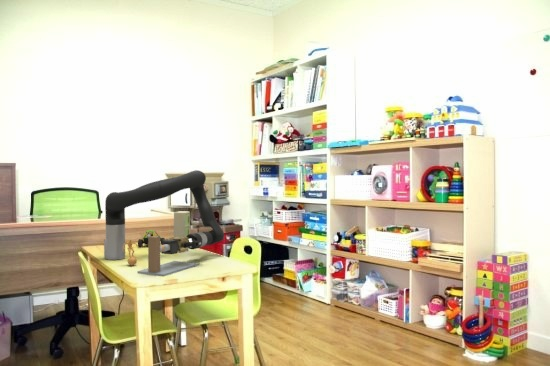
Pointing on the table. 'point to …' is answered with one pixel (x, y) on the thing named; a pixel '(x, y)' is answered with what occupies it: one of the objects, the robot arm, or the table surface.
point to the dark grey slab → (172, 246)
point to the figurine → (132, 260)
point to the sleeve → (181, 243)
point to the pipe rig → (154, 260)
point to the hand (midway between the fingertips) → (176, 245)
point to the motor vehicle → (141, 241)
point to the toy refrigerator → (181, 223)
